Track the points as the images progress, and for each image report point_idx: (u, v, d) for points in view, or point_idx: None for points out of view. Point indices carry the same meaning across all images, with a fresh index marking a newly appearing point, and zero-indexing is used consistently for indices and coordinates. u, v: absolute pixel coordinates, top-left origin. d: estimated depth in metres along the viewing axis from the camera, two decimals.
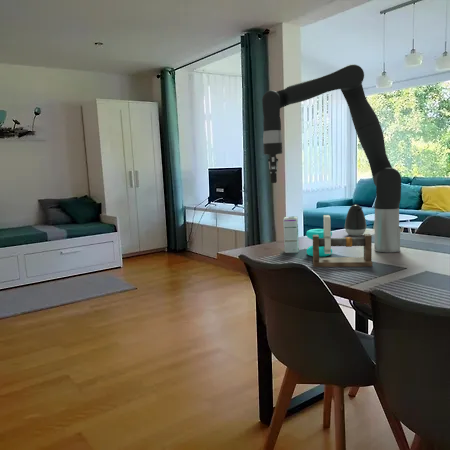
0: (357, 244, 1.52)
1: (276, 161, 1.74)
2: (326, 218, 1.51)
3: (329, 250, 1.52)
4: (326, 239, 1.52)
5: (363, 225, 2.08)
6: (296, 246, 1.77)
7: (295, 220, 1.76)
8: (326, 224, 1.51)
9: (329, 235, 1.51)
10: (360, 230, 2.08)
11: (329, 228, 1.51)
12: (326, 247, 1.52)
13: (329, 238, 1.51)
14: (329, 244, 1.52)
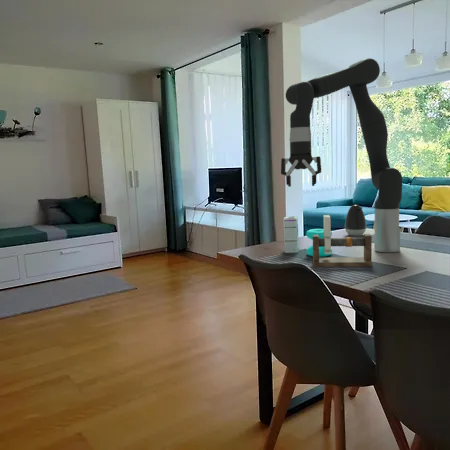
0: (357, 244, 1.52)
1: None
2: (326, 218, 1.51)
3: (329, 250, 1.52)
4: (326, 239, 1.52)
5: (363, 225, 2.08)
6: (296, 246, 1.77)
7: (295, 220, 1.76)
8: (326, 224, 1.51)
9: (329, 235, 1.51)
10: (360, 230, 2.08)
11: (329, 228, 1.51)
12: (326, 247, 1.52)
13: (329, 238, 1.51)
14: (329, 244, 1.52)
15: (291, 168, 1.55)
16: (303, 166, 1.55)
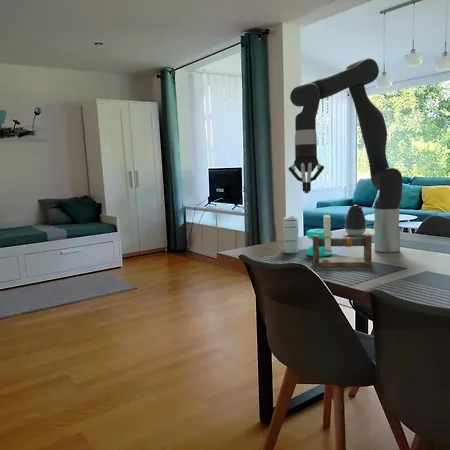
0: (357, 244, 1.52)
1: None
2: (326, 218, 1.51)
3: (329, 250, 1.52)
4: (326, 239, 1.52)
5: (363, 225, 2.08)
6: (296, 246, 1.77)
7: (295, 220, 1.76)
8: (326, 224, 1.51)
9: (329, 235, 1.51)
10: (360, 230, 2.08)
11: (329, 228, 1.51)
12: (326, 247, 1.52)
13: (329, 238, 1.51)
14: (329, 244, 1.52)
15: (303, 173, 1.51)
16: (309, 169, 1.52)
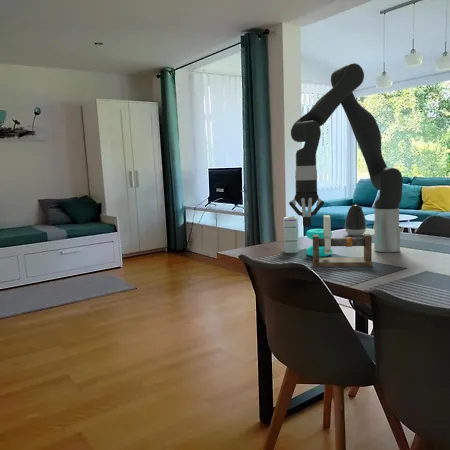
0: (357, 244, 1.52)
1: None
2: (326, 218, 1.51)
3: (329, 250, 1.52)
4: (326, 239, 1.52)
5: (363, 225, 2.08)
6: (296, 246, 1.77)
7: (295, 220, 1.76)
8: (326, 224, 1.51)
9: (329, 235, 1.51)
10: (360, 230, 2.08)
11: (329, 228, 1.51)
12: (326, 247, 1.52)
13: (329, 238, 1.51)
14: (329, 244, 1.52)
15: (303, 208, 1.53)
16: None
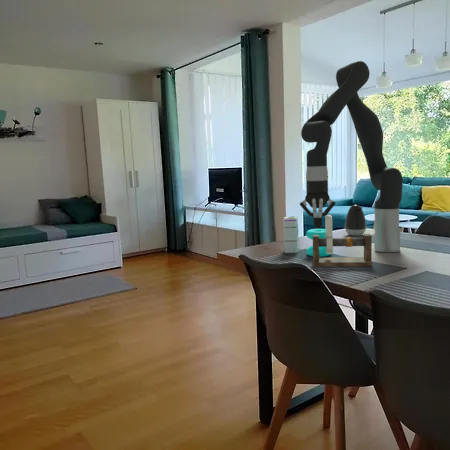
0: (357, 244, 1.52)
1: None
2: (328, 218, 1.51)
3: (331, 250, 1.52)
4: (328, 239, 1.52)
5: (363, 225, 2.08)
6: (296, 246, 1.77)
7: (295, 220, 1.76)
8: (328, 224, 1.51)
9: (331, 235, 1.51)
10: (360, 230, 2.08)
11: (331, 228, 1.51)
12: (328, 247, 1.52)
13: (331, 238, 1.51)
14: (331, 244, 1.52)
15: (314, 208, 1.53)
16: None
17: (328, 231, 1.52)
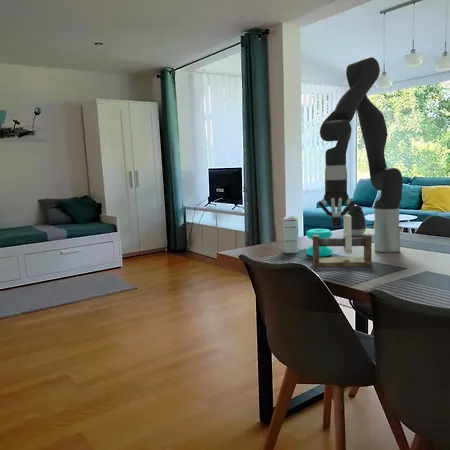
0: (357, 244, 1.52)
1: None
2: (347, 218, 1.50)
3: (350, 250, 1.51)
4: (347, 239, 1.51)
5: (363, 225, 2.08)
6: (296, 246, 1.77)
7: (295, 220, 1.76)
8: (347, 224, 1.50)
9: (350, 235, 1.50)
10: (360, 230, 2.08)
11: (350, 228, 1.50)
12: (347, 247, 1.51)
13: (350, 238, 1.50)
14: (350, 244, 1.51)
15: (333, 208, 1.52)
16: None
17: (347, 231, 1.51)
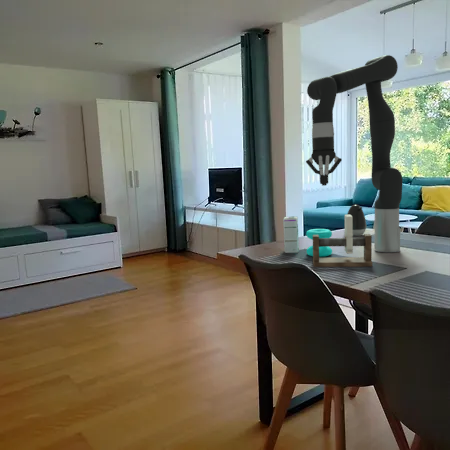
0: (357, 244, 1.52)
1: None
2: (348, 218, 1.50)
3: (351, 250, 1.51)
4: (348, 239, 1.50)
5: (363, 225, 2.08)
6: (296, 246, 1.77)
7: (295, 220, 1.76)
8: (348, 224, 1.50)
9: (351, 235, 1.50)
10: (360, 230, 2.08)
11: (351, 228, 1.50)
12: (348, 247, 1.51)
13: (351, 238, 1.50)
14: (351, 244, 1.51)
15: (321, 166, 1.53)
16: None
17: (348, 231, 1.51)
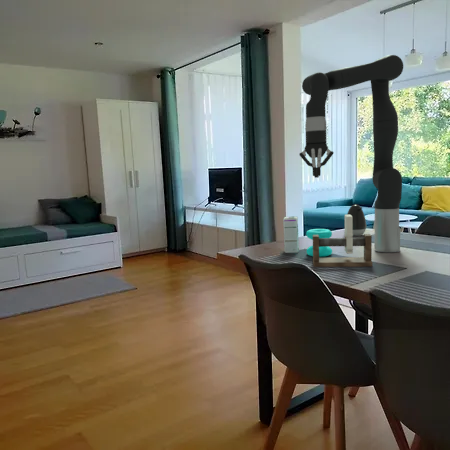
0: (357, 244, 1.52)
1: None
2: (348, 218, 1.50)
3: (351, 250, 1.51)
4: (348, 239, 1.50)
5: (363, 225, 2.08)
6: (296, 246, 1.77)
7: (295, 220, 1.76)
8: (348, 224, 1.50)
9: (351, 235, 1.50)
10: (360, 230, 2.08)
11: (351, 228, 1.50)
12: (348, 247, 1.51)
13: (351, 238, 1.50)
14: (351, 244, 1.51)
15: (313, 158, 1.59)
16: None
17: (348, 231, 1.51)
